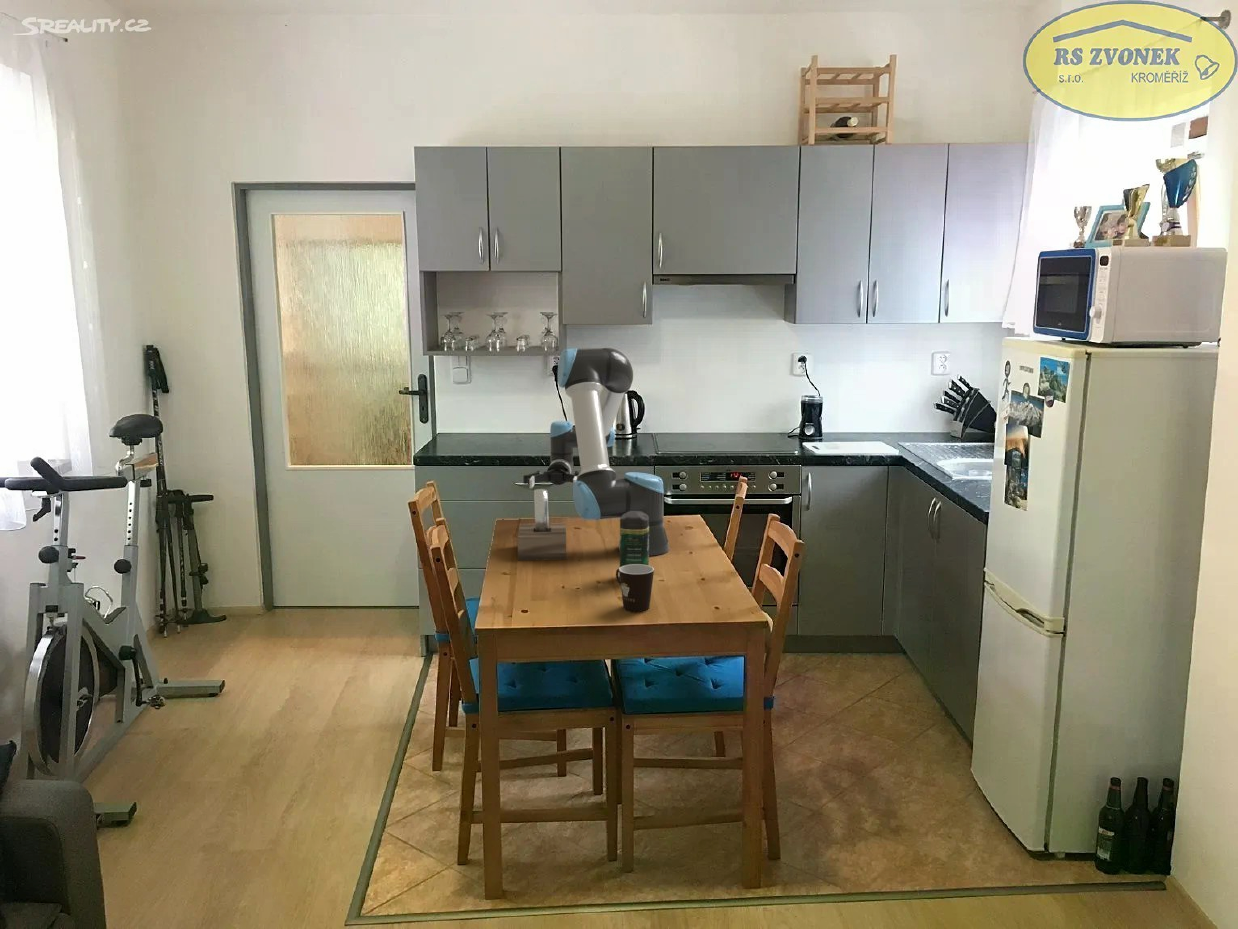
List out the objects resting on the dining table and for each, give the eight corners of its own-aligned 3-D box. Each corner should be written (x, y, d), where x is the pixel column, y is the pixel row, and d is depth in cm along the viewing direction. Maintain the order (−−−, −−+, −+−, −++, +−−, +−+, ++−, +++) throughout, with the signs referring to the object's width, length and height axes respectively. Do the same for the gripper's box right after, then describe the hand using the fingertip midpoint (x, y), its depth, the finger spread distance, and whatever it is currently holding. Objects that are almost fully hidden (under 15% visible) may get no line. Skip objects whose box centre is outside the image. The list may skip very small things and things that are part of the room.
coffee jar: (647, 585, 258) (648, 517, 254) (618, 584, 258) (618, 516, 255) (650, 574, 267) (650, 508, 264) (621, 573, 268) (621, 508, 265)
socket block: (566, 559, 282) (566, 536, 281) (518, 560, 281) (517, 537, 280) (565, 545, 298) (565, 523, 297) (520, 546, 297) (519, 523, 296)
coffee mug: (657, 612, 236) (657, 573, 234) (623, 615, 234) (623, 575, 232) (646, 598, 247) (646, 560, 245) (613, 600, 245) (613, 562, 243)
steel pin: (551, 546, 289) (550, 490, 286) (540, 548, 286) (538, 492, 283) (544, 543, 292) (542, 488, 289) (533, 545, 290) (531, 490, 287)
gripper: (596, 483, 323) (592, 496, 302) (521, 483, 323) (512, 495, 302) (596, 461, 321) (592, 472, 300) (521, 461, 322) (512, 472, 301)
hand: (552, 484), depth 301 cm, fingers open, 13 cm apart
